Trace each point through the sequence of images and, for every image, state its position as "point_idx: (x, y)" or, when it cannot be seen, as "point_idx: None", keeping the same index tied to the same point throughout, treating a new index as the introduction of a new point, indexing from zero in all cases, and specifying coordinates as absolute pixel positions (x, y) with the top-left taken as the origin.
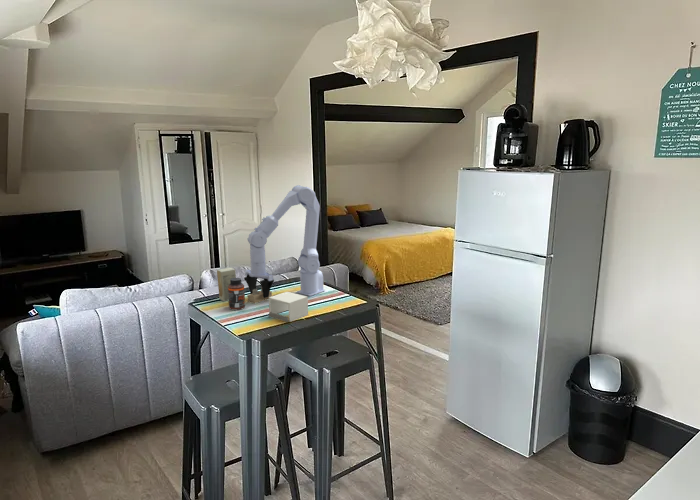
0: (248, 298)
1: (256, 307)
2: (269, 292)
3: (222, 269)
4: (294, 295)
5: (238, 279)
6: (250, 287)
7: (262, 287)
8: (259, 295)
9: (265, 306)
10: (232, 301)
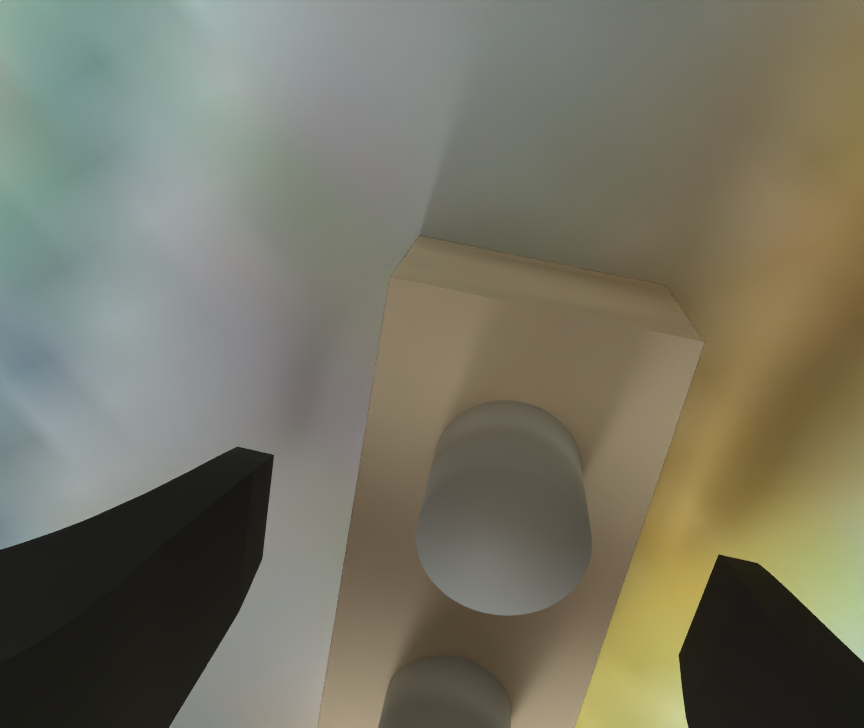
0: (644, 303)
1: (172, 4)
2: (320, 722)
3: None
4: None
5: None
6: (809, 685)
7: (74, 575)
8: (362, 455)
9: (59, 172)
10: None
